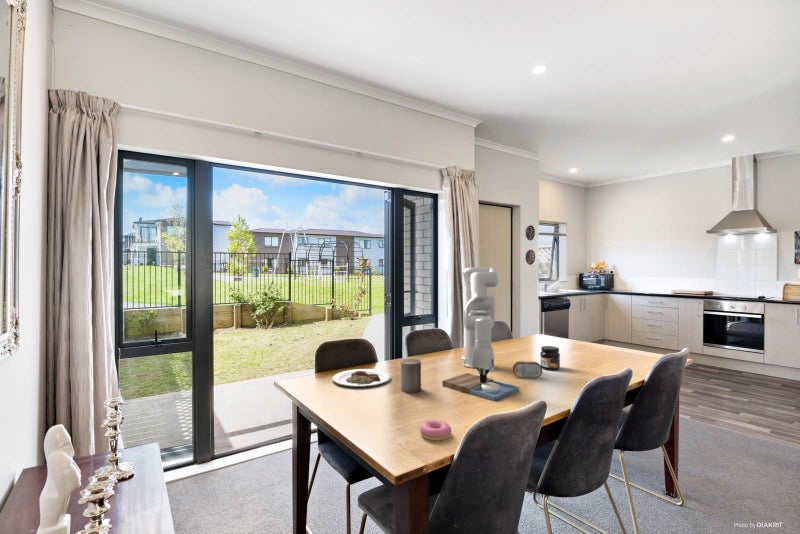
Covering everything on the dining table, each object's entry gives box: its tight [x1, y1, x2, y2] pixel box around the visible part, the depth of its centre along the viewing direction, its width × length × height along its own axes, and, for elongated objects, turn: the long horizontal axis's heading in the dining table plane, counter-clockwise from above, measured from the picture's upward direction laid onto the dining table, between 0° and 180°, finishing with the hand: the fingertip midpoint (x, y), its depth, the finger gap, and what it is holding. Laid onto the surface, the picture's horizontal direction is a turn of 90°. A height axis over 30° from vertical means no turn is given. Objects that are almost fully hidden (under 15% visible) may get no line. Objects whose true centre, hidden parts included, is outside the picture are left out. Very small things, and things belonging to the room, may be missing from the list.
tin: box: [512, 360, 543, 379], centre depth 205 cm, size 15×3×8 cm, turn 84°
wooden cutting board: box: [441, 372, 494, 395], centre depth 192 cm, size 16×20×2 cm
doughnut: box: [419, 419, 452, 442], centre depth 136 cm, size 11×11×4 cm
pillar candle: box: [400, 358, 422, 394], centre depth 186 cm, size 10×10×15 cm
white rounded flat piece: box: [482, 382, 499, 393], centre depth 182 cm, size 8×8×2 cm
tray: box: [469, 380, 520, 402], centre depth 181 cm, size 14×20×2 cm
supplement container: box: [539, 345, 561, 372], centre depth 223 cm, size 10×10×12 cm
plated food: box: [332, 368, 391, 388], centre depth 202 cm, size 30×30×3 cm
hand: (483, 382), depth 186 cm, fingers closed
